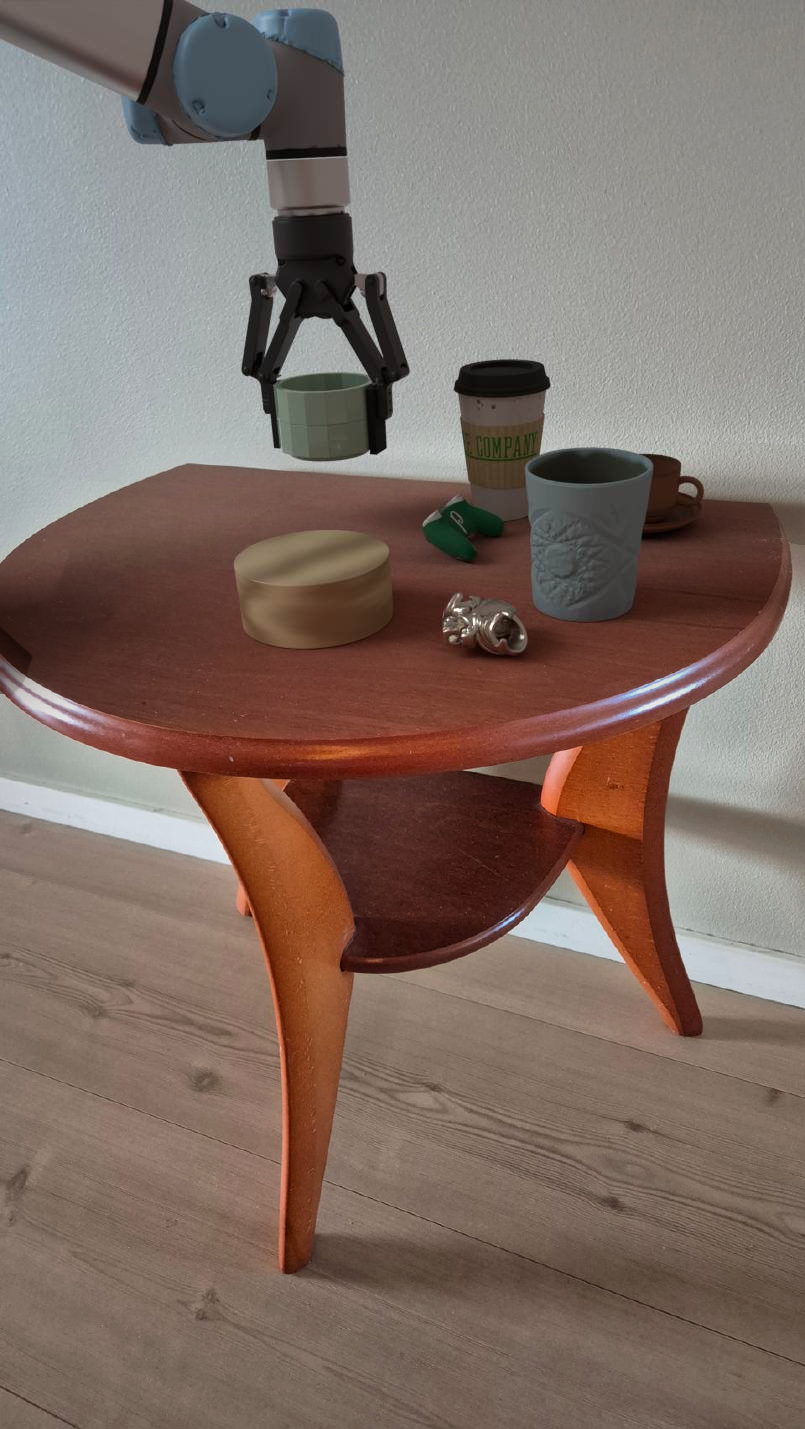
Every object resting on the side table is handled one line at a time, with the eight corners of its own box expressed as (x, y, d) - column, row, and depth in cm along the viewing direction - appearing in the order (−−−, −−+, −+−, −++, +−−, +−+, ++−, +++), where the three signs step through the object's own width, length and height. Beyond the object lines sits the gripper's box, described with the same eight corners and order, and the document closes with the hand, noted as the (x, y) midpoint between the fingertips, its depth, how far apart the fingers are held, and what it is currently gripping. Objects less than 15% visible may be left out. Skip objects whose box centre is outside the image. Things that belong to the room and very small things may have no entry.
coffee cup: (439, 518, 106) (434, 373, 99) (486, 493, 113) (484, 355, 106) (520, 532, 101) (521, 380, 94) (564, 504, 108) (568, 361, 100)
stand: (215, 615, 86) (205, 556, 84) (337, 576, 93) (332, 519, 90) (294, 664, 77) (287, 599, 75) (424, 616, 84) (421, 555, 81)
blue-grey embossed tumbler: (618, 575, 90) (626, 442, 84) (662, 619, 81) (675, 474, 75) (510, 587, 88) (510, 453, 82) (543, 634, 80) (546, 488, 74)
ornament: (413, 641, 80) (411, 599, 78) (480, 618, 83) (479, 577, 81) (476, 676, 74) (475, 632, 72) (544, 649, 77) (545, 606, 75)
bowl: (263, 451, 105) (255, 383, 101) (342, 434, 110) (337, 368, 106) (316, 470, 97) (310, 397, 94) (398, 450, 103) (394, 380, 99)
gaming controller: (486, 548, 102) (447, 505, 102) (510, 525, 100) (470, 481, 100) (451, 580, 95) (408, 534, 95) (476, 556, 93) (433, 509, 93)
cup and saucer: (695, 505, 105) (700, 447, 102) (704, 544, 95) (711, 481, 92) (581, 504, 108) (583, 447, 105) (578, 542, 97) (580, 481, 94)
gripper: (439, 206, 92) (444, 445, 103) (226, 212, 100) (252, 434, 111) (409, 211, 86) (418, 464, 97) (185, 217, 94) (216, 451, 105)
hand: (329, 448), depth 104 cm, fingers closed on bowl, 10 cm apart
